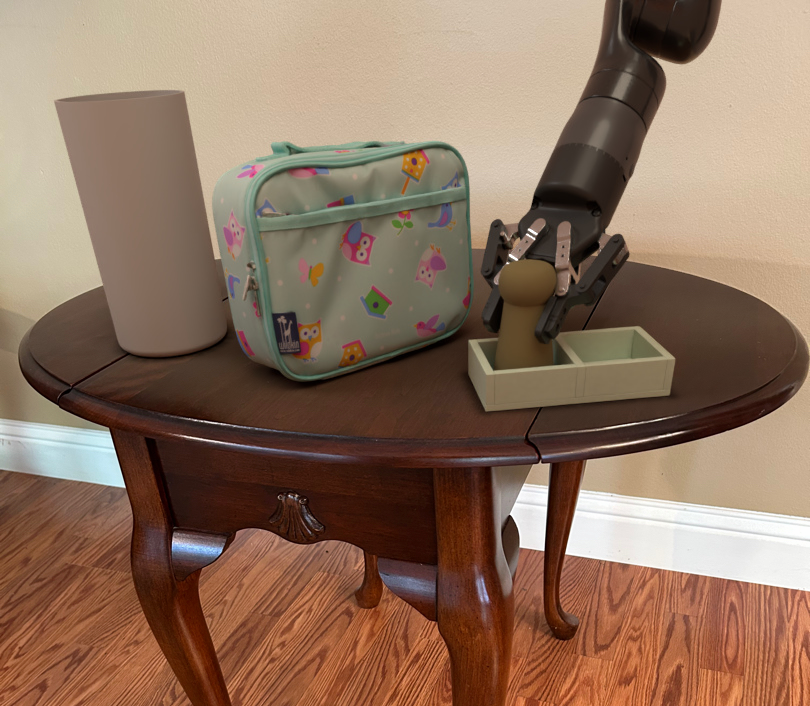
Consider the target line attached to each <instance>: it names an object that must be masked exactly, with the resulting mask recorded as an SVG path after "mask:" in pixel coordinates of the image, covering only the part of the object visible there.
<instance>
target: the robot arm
mask: <svg viewBox="0 0 810 706" xmlns="http://www.w3.org/2000/svg"><path fill="white" fill-rule="evenodd" d="M722 3H723V0H605V2H604V9H603V14H602V23H601V32H600V39H599V44H598V49H597V53H596V58H595V60H594V64H593V67H592V70H591V72H590V75H589V77H588V80H587V81H586V84H585V86H584V88H583V90H582V93H581V95H580V97H579V99H578V102H577V104H576V106H575V108H574V110H573V112H572V114H571V115H570V116H569V118H568V119H567V121H566V123H565V125H564V127H563V128H562V129H561V132H560V134H559V137H558V139H557V141H556V143H555V145H554V148H553V150H552V152H551V154H550V156H549V158H548V161H547V163H546V165H545V167H544V169H543V172H542V174H541V176H540V178H539V180H538V183H537V185H536V187H535V188H534V192H533V195H532V199H531V204H530V207H529V210H528V211H527V212H526V214H524V216H522V217H521V219H520V220H519V221H518V222H516V223H506V224H504V222H503V220H502V219H500V218H496V219H494V220H493V221H492V222H491V223H490V225H489V231H488V234H487V240H486V243H485V244H486V245H485V250H484V254H483V257H482V258H483V259H482V263H481V267H480V274H481V276H482V277H483V279H484V280H485V282H486V283H487V285H489V287H490V289H491V291H490V293H489V296H488V299H487V300H486V302H485V305H484V307H483V309H482V312H481V319H482V324H483V326H484V327H485V329H486V330H487V331H488V332H489V333H493V334H499V331H500V324H501V318H502V312H503V305H504V299H503V298H502V296H501V295H500V293H499V288H498V280H499V276H500V272H501V270H502V269H503V267H504V266H505V265H507V264H509V263H510V262H513V261H518V260H526V259H532V260H540V261H545V262H547V263H549V264H550V265H552V266H553V268H554V270H555V271H556V279H557V282H556V285H555V293H554V295H553V296H550V297H549V299H548V302H547V304H546V306H545V308H544V310H543V313H542V315H541V317H540V319H539V322H538V324H537V326H536V328H535V332H534V334H535V337H536V338H537V340H538V341H539V342H540V343H542V344H549V343H550V341H551V339H555V338H556V337H557V336H558V334H559V333H560V332H561V329H562V327H563V325H564V323H565V321H566V319H567V316H568V314H569V312H570V310H571V309H573V308H574V307H575V306H579V305H584V306H585V307H592V306H594V305H595V304H596V303H597V302H598V300H599V299H600V297H601V296H602V294H604V292H605V291H606V289H607V288H608V287H609V285H610V284H611V282H612V281H613V280H614V278H615V277H616V276H617V274H619V271H620V270H621V269H622V267H623V266H624V265H625V263H626V262H627V261H628V260H629V258H630V254H631V253H630V251H629V248H628V247H629V246H628V245H627V242H626V240H625V238H624V236H623V234H621V233H615V234H613V235H610V234H608V233H606V229H607V228H608V227H609V225H610V224H611V222H612V220H613V218H614V215H615V213H616V211H617V208H618V206H619V204H620V202H621V200H622V197H623V195H624V193H625V191H626V188H627V186H628V184H629V182H630V180H631V178H632V177H633V175H634V172H635V168H636V167H637V163H638V161H639V158H640V156H641V152H642V149H643V146H644V142H645V139H646V137H647V134H648V133H649V130H650V128H651V126H652V123H653V121H654V120H655V117H656V114H657V113H658V111H659V108H660V106H661V104H662V102H663V100H664V96H665V93H666V90H667V76H666V73H665V71H664V68H663V66H662V65H661V64H660V63H659V61H658V60H657V59H659V60H661V61H665V62H667V63H672V64H675V65H688V64H689V63H692V62H693V61H695V60H696V59H697V58H699V57H700V56H701V55H702V54H703V52H705V51H706V49H707V48H708V47H709V45H710V44H711V41H712V40H713V38H714V36H715V33H716V31H717V27H718V24H719V19H720V14H721V9H722ZM655 58H656V59H655ZM517 239H519V242H518V243H517V244H516V246H515V247H514V245H515V242H516V241H517ZM509 252H510V253H509ZM596 252H597V256H596V257H595V259H594V260H593V261H592V262H591V264H590V265H589V267H588V268H587V269H586V271H585V272H584V273H583V274H582V276H581V269H582V263H584V262H585V261H586V260H587V259H588V258H590V257H591V256H593V255H594V254H595V253H596Z"/></svg>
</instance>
